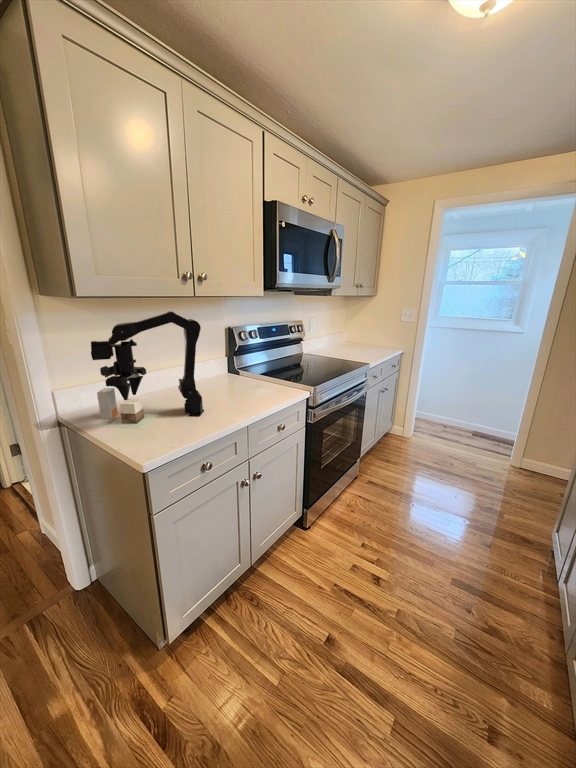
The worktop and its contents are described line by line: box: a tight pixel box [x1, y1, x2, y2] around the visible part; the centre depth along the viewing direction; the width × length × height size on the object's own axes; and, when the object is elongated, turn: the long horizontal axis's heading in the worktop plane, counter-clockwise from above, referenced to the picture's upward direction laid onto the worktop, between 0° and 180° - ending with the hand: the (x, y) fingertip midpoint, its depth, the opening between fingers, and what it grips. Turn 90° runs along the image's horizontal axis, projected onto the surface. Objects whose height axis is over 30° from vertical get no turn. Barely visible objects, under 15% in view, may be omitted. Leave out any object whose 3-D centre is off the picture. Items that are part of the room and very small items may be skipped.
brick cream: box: [119, 398, 143, 414], centre depth 124 cm, size 6×6×4 cm
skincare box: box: [96, 387, 119, 420], centre depth 128 cm, size 6×4×12 cm
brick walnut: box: [120, 408, 145, 424], centre depth 125 cm, size 6×6×4 cm
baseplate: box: [106, 413, 159, 429], centre depth 125 cm, size 14×14×1 cm
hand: (130, 397), depth 122 cm, fingers open, 6 cm apart
